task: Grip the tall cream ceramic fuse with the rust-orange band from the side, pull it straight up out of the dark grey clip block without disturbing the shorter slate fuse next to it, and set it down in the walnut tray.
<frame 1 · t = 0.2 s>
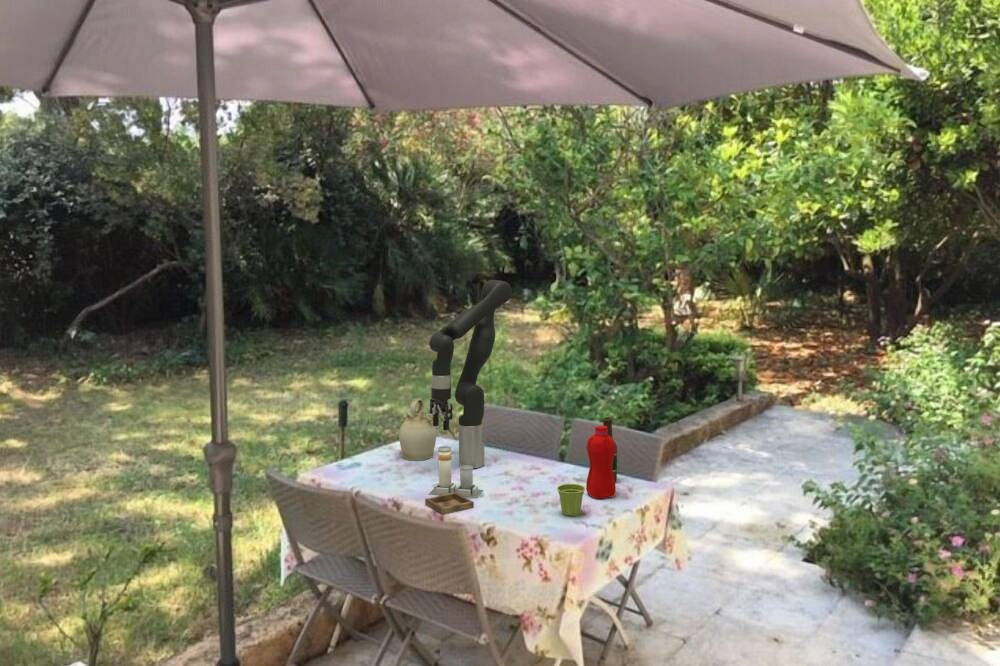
hand: (440, 428, 313), 18 cm above the table, tool pointing down, fingers open, 8 cm apart
plant pot: (570, 513, 271), on the table
clip block: (456, 494, 290), on the table
tray: (449, 508, 276), on the table
water bottle: (599, 494, 289), on the table
beer bottle: (607, 481, 304), on the table
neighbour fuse: (466, 493, 289), point 1 cm above the table, touching clip block
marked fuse: (445, 491, 291), point 1 cm above the table, touching clip block
jug: (418, 457, 338), on the table
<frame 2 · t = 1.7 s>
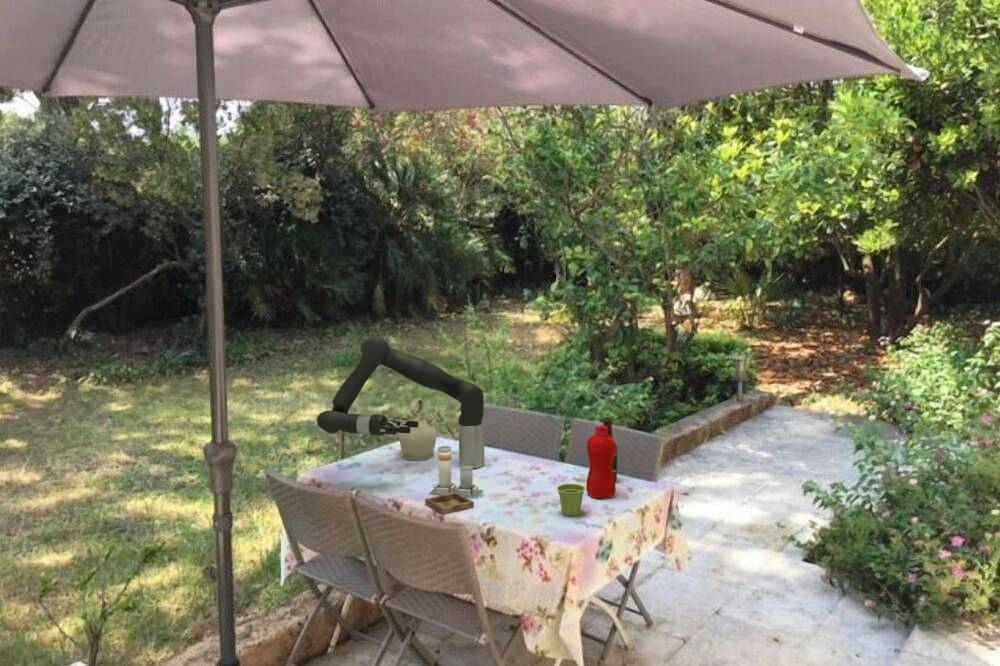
hand: (414, 427, 291), 24 cm above the table, tool horizontal, fingers open, 8 cm apart
nothing on the table moved.
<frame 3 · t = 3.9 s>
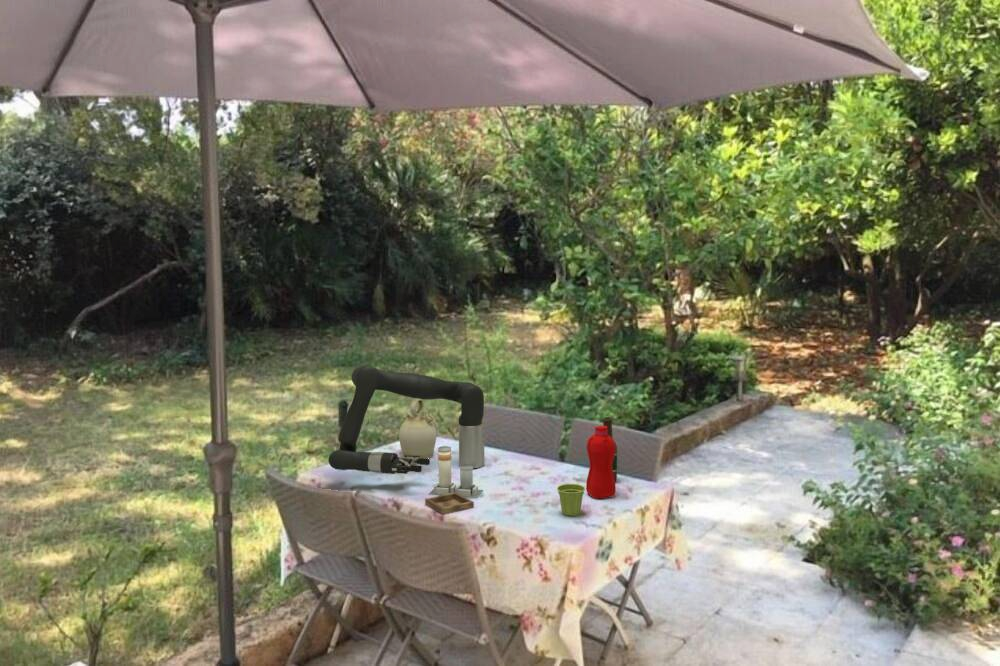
hand: (425, 465, 292), 10 cm above the table, tool horizontal, fingers open, 8 cm apart
nothing on the table moved.
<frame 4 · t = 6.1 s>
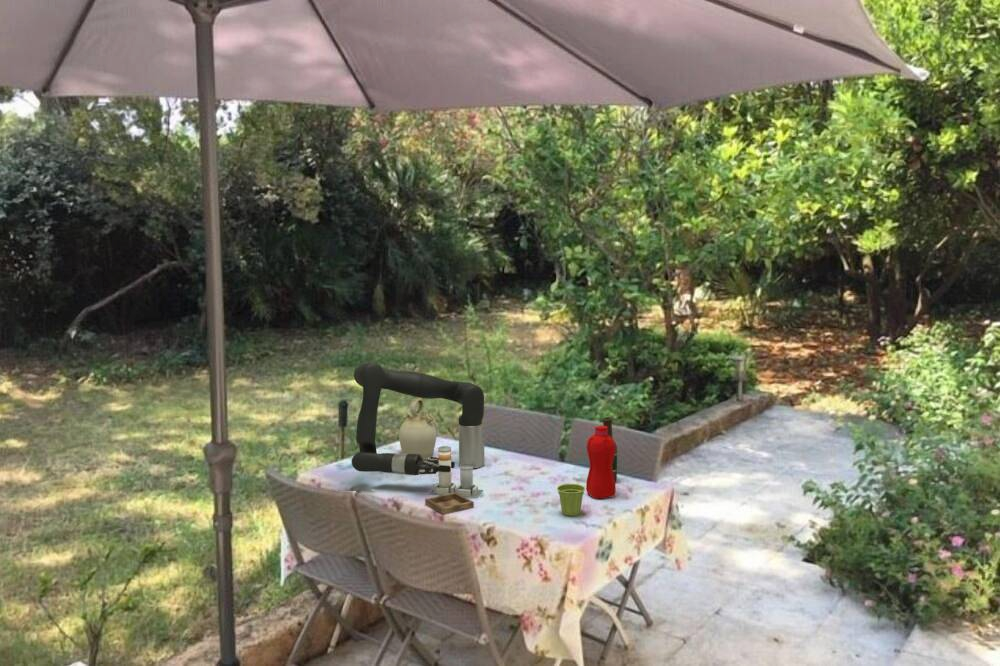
hand: (452, 467, 289), 10 cm above the table, tool horizontal, fingers closed on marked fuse, 4 cm apart
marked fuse: (445, 491, 291), point 1 cm above the table, touching clip block, gripper
everything else where it was.
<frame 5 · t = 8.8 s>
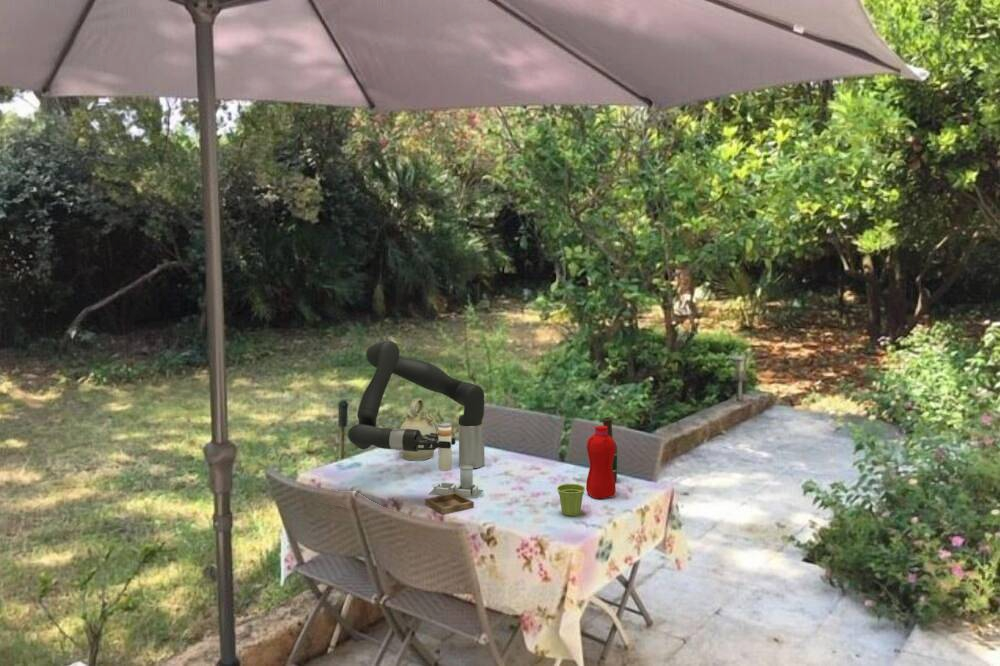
hand: (452, 443, 275), 22 cm above the table, tool horizontal, fingers closed on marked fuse, 4 cm apart
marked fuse: (445, 469, 277), point 13 cm above the table, touching gripper
everything else where it was.
when the fingers open (11 cm above the table, at t = 11.6 s): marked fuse stays where it is, resting on tray.
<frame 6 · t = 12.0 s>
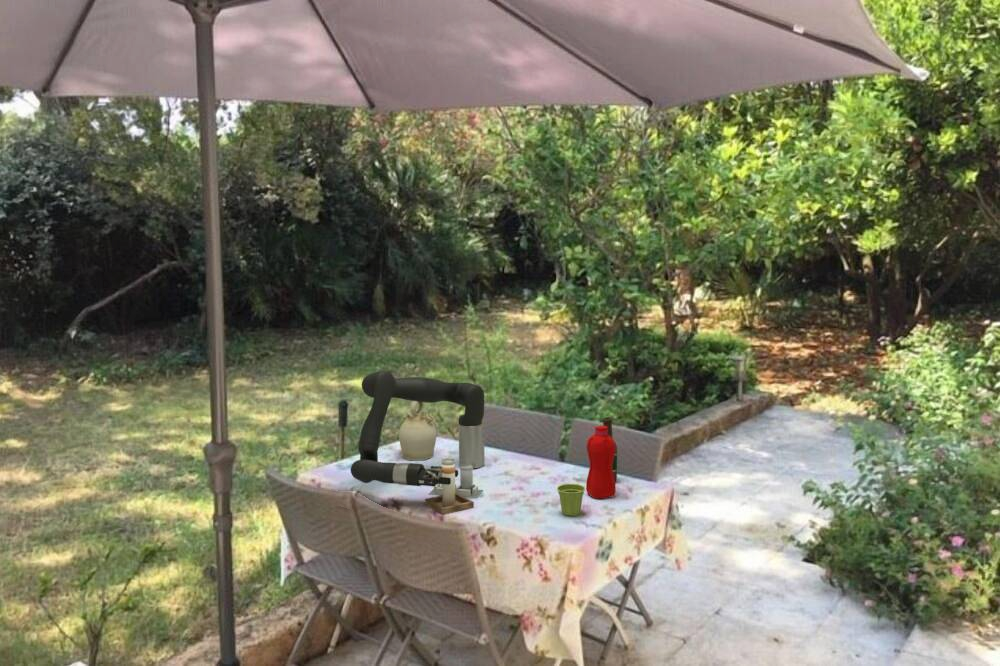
hand: (454, 477, 274), 11 cm above the table, tool horizontal, fingers open, 8 cm apart
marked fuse: (449, 506, 276), point 1 cm above the table, touching tray
everything else where it was.
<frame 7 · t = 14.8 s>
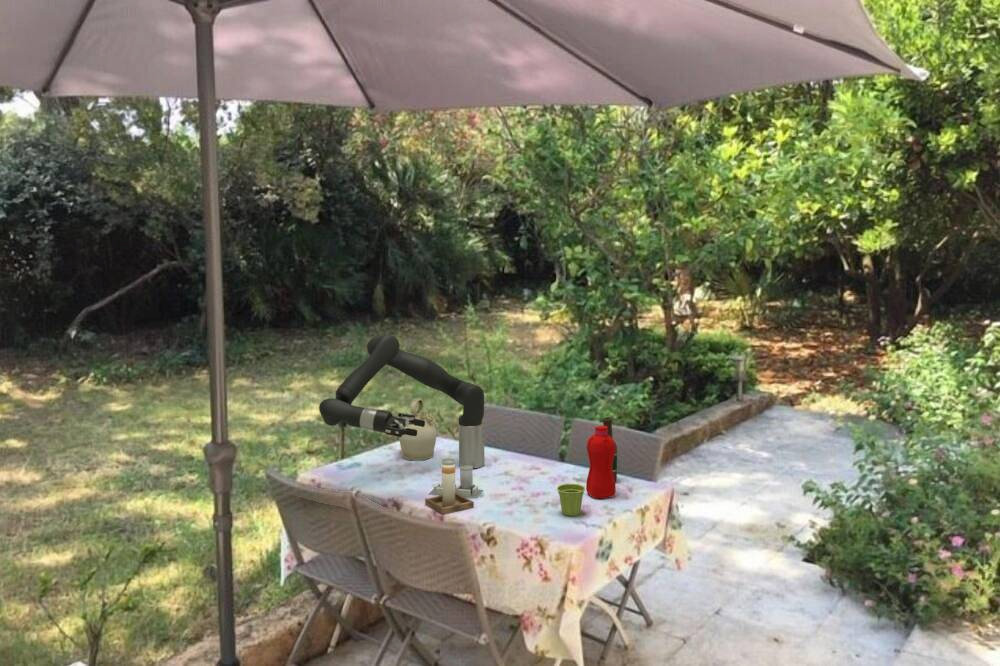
hand: (420, 428, 277), 27 cm above the table, tool horizontal, fingers open, 8 cm apart
nothing on the table moved.
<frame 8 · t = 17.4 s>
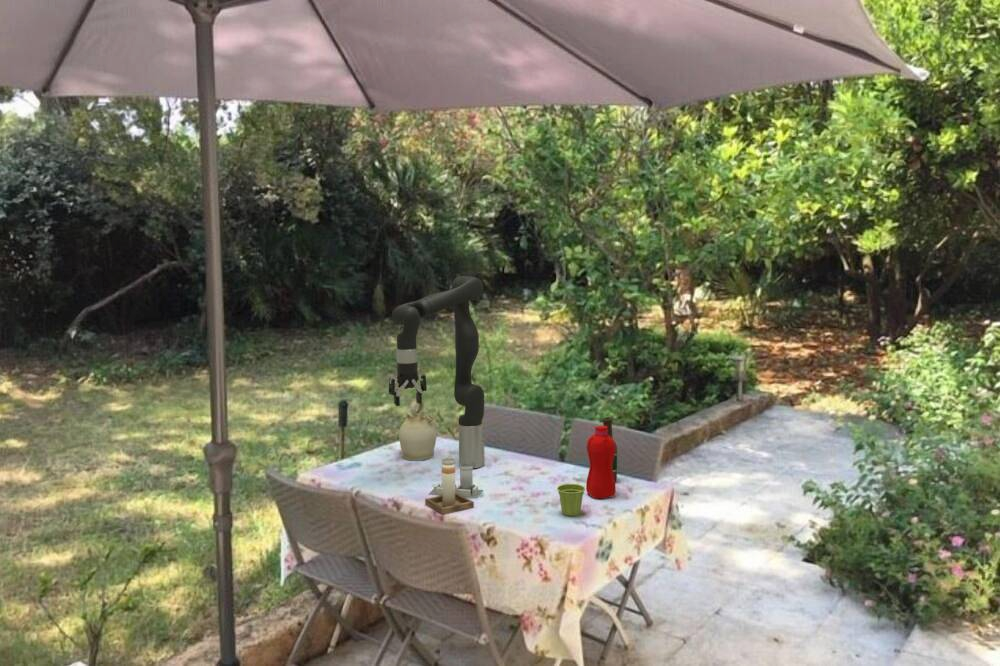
hand: (408, 404, 298), 30 cm above the table, tool pointing down, fingers open, 8 cm apart
nothing on the table moved.
at the end: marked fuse inside the target area on the tray (0.1 cm from its centre), point 0.8 cm above the tray's base; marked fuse tilted 0°; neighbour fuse moved 0.0 cm from its start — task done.
